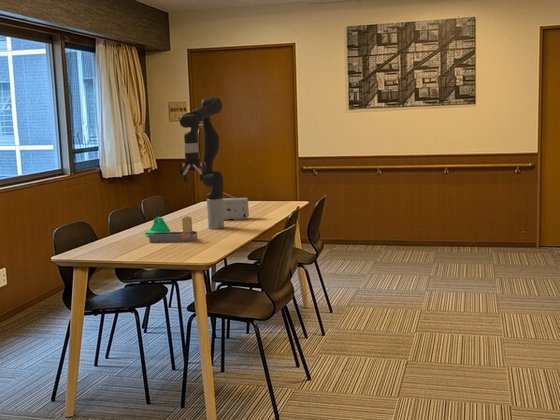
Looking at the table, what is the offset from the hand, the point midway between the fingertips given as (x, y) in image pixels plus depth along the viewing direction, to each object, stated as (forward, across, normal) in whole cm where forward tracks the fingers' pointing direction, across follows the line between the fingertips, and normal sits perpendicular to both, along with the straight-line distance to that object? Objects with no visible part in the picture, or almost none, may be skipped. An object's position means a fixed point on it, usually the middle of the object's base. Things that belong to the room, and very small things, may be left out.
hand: (193, 181), depth 364 cm
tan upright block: (+28, +2, +11) cm, 30 cm away
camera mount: (+30, +24, -5) cm, 39 cm away
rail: (+30, +10, +11) cm, 34 cm away
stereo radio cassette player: (+30, -6, -59) cm, 67 cm away
